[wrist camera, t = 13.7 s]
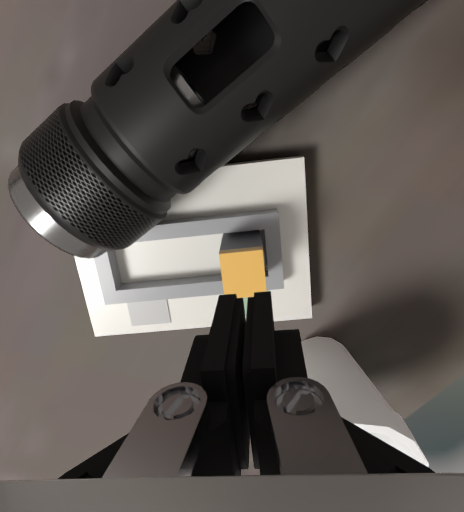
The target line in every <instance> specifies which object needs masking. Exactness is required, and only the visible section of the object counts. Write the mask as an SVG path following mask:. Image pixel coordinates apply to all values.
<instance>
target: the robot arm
mask: <svg viewBox="0 0 464 512" xmlns="http://www.w3.org/2000/svg"><path fill="white" fill-rule="evenodd" d="M250 438H251V446H252V454H253V462H254V468H255V469H260V475H246V476H241V469H248V467H249V443H250ZM0 512H464V473H435V472H434V471H432V470H431V469H430V468H428V467H427V466H425V465H424V464H422V463H420V462H418V461H417V460H415V459H413V458H411V457H410V456H408V455H406V454H405V453H403V452H401V451H399V450H398V449H396V448H394V447H392V446H391V445H389V444H387V443H386V442H384V441H382V440H380V439H379V438H377V437H375V436H373V435H372V434H370V433H368V432H367V431H365V430H363V429H361V428H360V427H358V426H356V425H354V424H353V423H351V422H349V421H348V420H346V419H344V418H342V417H341V416H340V414H339V412H338V410H337V408H336V406H335V404H334V402H333V400H332V398H331V395H330V393H329V392H328V390H327V389H326V388H325V386H323V385H322V384H320V383H319V382H318V381H315V380H312V379H310V378H308V377H307V371H306V366H305V360H304V355H303V349H302V344H301V338H300V333H299V329H295V330H278V331H274V320H273V309H272V298H271V291H267V292H254V297H248V301H247V314H246V317H245V309H244V301H243V298H237V295H236V294H226V295H219V297H218V301H217V305H216V309H215V313H214V317H213V321H212V325H211V329H210V333H209V335H197V336H195V338H194V341H193V344H192V347H191V351H190V354H189V357H188V360H187V363H186V366H185V370H184V373H183V376H182V379H181V382H180V383H175V384H171V385H168V386H166V387H164V388H162V389H160V390H159V391H158V392H156V393H155V394H154V395H153V396H152V397H151V399H150V400H149V401H148V403H147V405H146V406H145V408H144V410H143V411H142V413H141V414H140V416H139V418H138V419H137V421H136V423H135V424H134V426H133V428H132V429H131V431H130V432H129V433H128V434H127V435H125V436H124V437H122V438H120V439H119V440H117V441H116V442H114V443H112V444H111V445H109V446H108V447H106V448H104V449H103V450H101V451H100V452H98V453H97V454H95V455H93V456H92V457H90V458H89V459H87V460H85V461H84V462H82V463H81V464H79V465H77V466H76V467H74V468H73V469H71V470H70V471H68V472H66V473H65V474H63V475H62V476H61V477H60V478H58V479H50V480H8V481H0Z"/></svg>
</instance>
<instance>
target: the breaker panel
mask: <svg viewBox="0 0 464 512" xmlns="http://www.w3.org/2000/svg"><path fill="white" fill-rule="evenodd" d="M170 200H171V207H170V209H169V210H168V211H167V215H166V217H165V218H164V219H163V220H162V221H161V222H159V223H158V224H157V225H156V226H154V227H153V228H152V229H151V230H149V231H148V232H147V233H146V234H144V235H143V236H142V237H141V238H139V239H138V240H137V241H136V242H134V243H133V244H132V245H131V246H129V247H127V248H125V249H120V250H111V251H109V250H108V251H107V252H105V253H104V254H103V255H101V256H99V257H97V258H91V259H87V258H80V257H77V256H74V257H75V261H76V265H77V269H78V272H79V276H80V280H81V284H82V288H83V292H84V296H85V299H86V303H87V307H88V311H89V315H90V319H91V323H92V326H93V330H94V334H95V336H107V335H119V334H130V333H142V332H154V331H166V330H177V329H189V328H201V327H211V325H212V321H213V317H214V313H215V309H216V305H217V301H218V297H219V295H224V290H223V283H222V275H221V267H220V259H219V251H220V246H221V241H222V236H223V233H232V232H242V231H252V230H260V236H261V242H262V248H263V257H264V268H265V279H266V290H267V291H271V298H272V309H273V320H274V321H283V320H294V319H306V318H312V306H311V286H310V265H309V245H308V224H307V204H306V183H305V163H304V157H303V156H293V157H284V158H275V159H266V160H258V161H249V162H240V163H231V164H225V165H223V166H222V167H220V168H218V169H217V170H216V171H214V172H213V173H212V174H211V175H210V176H209V177H207V178H206V179H205V180H204V181H202V182H201V183H200V185H199V186H197V187H196V188H195V189H194V190H192V191H191V192H190V193H186V194H178V193H177V194H176V195H175V196H173V197H172V198H171V199H170ZM243 301H244V309H245V317H246V314H247V301H248V297H246V298H243Z"/></svg>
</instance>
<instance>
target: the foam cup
mask: <svg viewBox="0 0 464 512" xmlns="http://www.w3.org/2000/svg"><path fill="white" fill-rule="evenodd" d="M301 344H302V349H303V355H304V360H305V366H306V371H307V377H308V378H310V379H312V380H315V381H318V382H319V383H320V384H322V385H323V386H325V388H326V389H327V390H328V392H329V393H330V395H331V398H332V400H333V402H334V404H335V406H336V408H337V410H338V412H339V414H340V416H341V417H342V418H344V419H346V420H348V421H349V422H351V423H353V424H354V425H356V426H358V427H360V428H361V429H363V430H365V431H367V432H368V433H370V434H372V435H373V436H375V437H377V438H379V439H380V440H382V441H384V442H386V443H387V444H389V445H391V446H392V447H394V448H396V449H398V450H399V451H401V452H403V453H405V454H406V455H408V456H410V457H411V458H413V459H415V460H417V461H418V462H420V463H422V464H424V465H425V466H427V467H429V464H428V462H427V460H426V458H425V456H424V455H423V453H422V451H421V449H420V448H419V446H418V444H417V442H416V440H415V438H414V437H413V435H412V433H411V432H410V430H409V429H408V427H407V425H406V424H405V422H404V420H403V419H402V417H401V415H400V414H398V413H396V412H394V411H393V409H392V408H391V407H390V405H389V404H388V403H387V402H386V400H385V399H384V398H383V396H382V395H381V394H380V392H379V391H378V390H377V388H376V387H375V386H374V385H373V383H372V382H371V381H370V379H369V378H368V377H367V375H366V374H365V373H364V371H363V370H362V369H361V368H360V366H359V365H358V364H357V362H356V361H355V360H354V358H353V357H352V356H351V354H350V353H349V352H348V351H347V349H346V348H345V347H344V346H343V345H342V344H341V343H339V342H337V341H336V340H334V339H332V338H327V337H318V336H316V337H313V338H309V339H306V340H303V341H301Z"/></svg>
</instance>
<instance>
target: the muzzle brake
mask: <svg viewBox="0 0 464 512" xmlns="http://www.w3.org/2000/svg"><path fill="white" fill-rule="evenodd" d="M426 1H428V0H177V1H176V2H175V3H174V4H173V5H172V6H171V7H170V8H169V9H168V10H167V11H166V12H165V13H164V14H163V15H162V16H161V17H160V18H159V19H157V20H156V21H155V22H154V23H153V24H152V25H151V26H150V27H149V28H148V29H147V30H146V31H145V32H144V33H143V34H142V35H141V36H140V37H139V38H138V39H137V40H136V41H135V42H134V43H133V44H132V45H130V46H129V47H128V48H127V49H126V50H125V51H124V52H123V53H122V54H121V55H120V56H119V57H118V58H117V59H116V60H115V61H114V62H113V63H112V64H111V65H110V66H109V67H108V68H107V69H106V70H105V71H104V72H102V73H101V74H100V75H99V76H98V77H97V78H96V79H95V80H94V81H93V83H92V86H91V95H92V96H91V97H90V98H89V99H88V100H87V101H86V102H85V103H84V102H81V101H76V100H74V101H72V102H71V103H70V104H69V103H64V104H62V105H61V106H59V107H58V108H57V109H56V110H55V111H54V112H53V113H52V114H51V115H50V116H49V117H48V118H47V119H46V120H45V121H44V122H43V123H42V124H41V125H40V126H39V127H38V128H37V129H35V130H34V131H33V132H32V133H31V134H30V135H29V136H28V137H27V138H26V139H25V140H24V141H23V142H22V145H21V147H20V150H19V158H18V166H17V167H16V168H15V169H14V170H13V171H12V172H11V173H10V176H9V179H8V189H9V193H10V196H11V199H12V201H13V203H14V205H15V207H16V209H17V210H18V212H19V213H20V215H21V216H22V217H23V219H24V220H25V221H26V222H27V223H28V224H29V226H30V227H31V228H32V229H33V230H35V231H36V232H37V233H38V234H39V235H40V236H41V237H42V238H44V239H45V240H46V241H48V242H49V243H50V244H52V245H54V246H55V247H57V248H59V249H60V250H62V251H64V252H66V253H68V254H71V255H73V256H77V257H80V258H87V259H91V258H97V257H99V256H101V255H103V254H104V253H105V252H107V251H108V250H109V251H111V250H120V249H125V248H127V247H129V246H131V245H132V244H133V243H134V242H136V241H137V240H138V239H139V238H141V237H142V236H143V235H144V234H146V233H147V232H148V231H149V230H151V229H152V228H153V227H154V226H156V225H157V224H158V223H159V222H161V221H162V220H163V219H164V218H165V217H166V215H167V211H168V210H169V209H170V207H171V200H170V199H171V198H172V197H173V196H175V195H176V194H177V193H178V194H186V193H190V192H191V191H192V190H194V189H195V188H196V187H197V186H199V185H200V183H201V182H202V181H204V180H205V179H206V178H207V177H209V176H210V175H211V174H212V173H213V172H214V171H216V170H217V169H218V168H220V167H222V166H223V165H225V164H226V163H227V162H228V161H229V160H231V159H232V158H233V157H234V156H236V155H237V154H238V153H239V152H241V151H242V150H243V149H244V148H246V147H247V146H248V145H249V144H251V143H252V142H253V141H254V140H255V139H256V138H257V137H258V136H259V135H260V134H261V133H263V132H264V131H265V130H267V129H268V128H269V127H270V126H271V125H273V124H274V123H275V122H277V121H278V120H280V119H281V118H283V117H284V116H285V115H286V114H288V113H289V112H290V111H291V110H293V109H294V108H295V107H296V106H298V105H299V104H300V103H301V102H302V101H304V100H305V99H306V98H307V97H309V96H310V95H311V94H312V93H314V92H315V91H316V90H317V89H319V87H320V86H321V85H322V84H323V83H325V82H326V81H327V80H328V79H329V78H331V77H332V76H334V75H335V74H336V73H337V72H338V71H340V70H341V69H342V68H344V67H346V66H347V65H348V64H350V63H351V62H352V61H353V60H354V59H356V58H357V57H358V56H359V55H361V54H362V53H363V52H364V51H366V50H367V49H368V48H369V47H371V46H372V45H373V44H374V43H376V42H377V41H378V40H379V39H380V38H382V37H383V36H384V35H385V34H387V33H388V32H389V31H390V30H391V29H392V28H393V27H394V26H395V25H396V24H398V23H399V22H400V21H401V20H402V19H404V18H405V17H406V16H408V15H409V14H410V13H411V12H413V11H414V10H415V9H417V8H418V7H420V6H421V5H423V4H424V3H425V2H426ZM210 31H212V40H211V45H210V52H208V51H194V50H193V47H194V46H195V45H196V44H197V43H198V42H200V41H201V40H203V38H204V37H205V36H206V35H207V34H208V33H209V32H210ZM248 104H257V106H256V107H253V108H251V109H248V110H245V109H246V106H247V105H248Z"/></svg>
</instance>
